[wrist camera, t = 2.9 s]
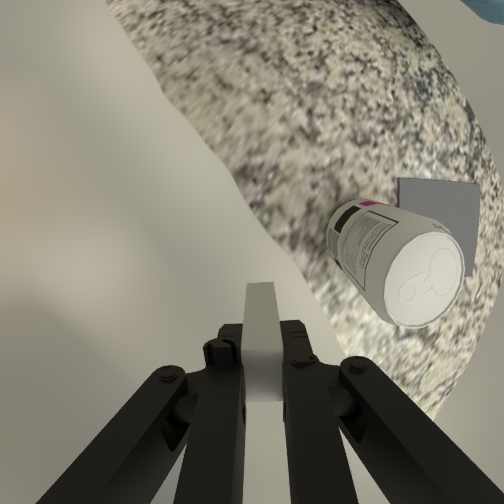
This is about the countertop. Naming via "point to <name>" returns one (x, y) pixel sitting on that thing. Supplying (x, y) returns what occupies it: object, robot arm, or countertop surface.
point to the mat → (446, 209)
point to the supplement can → (397, 261)
